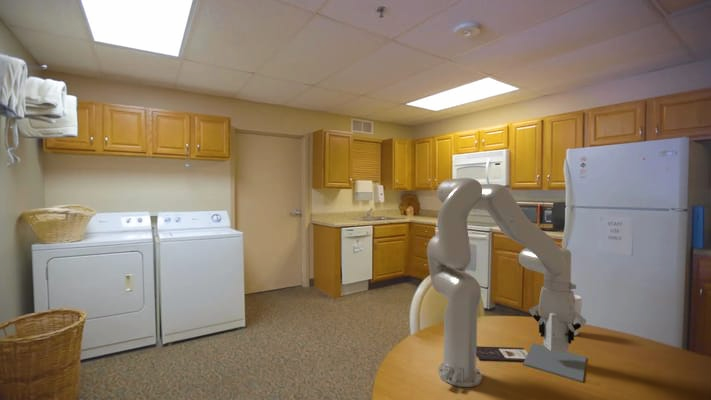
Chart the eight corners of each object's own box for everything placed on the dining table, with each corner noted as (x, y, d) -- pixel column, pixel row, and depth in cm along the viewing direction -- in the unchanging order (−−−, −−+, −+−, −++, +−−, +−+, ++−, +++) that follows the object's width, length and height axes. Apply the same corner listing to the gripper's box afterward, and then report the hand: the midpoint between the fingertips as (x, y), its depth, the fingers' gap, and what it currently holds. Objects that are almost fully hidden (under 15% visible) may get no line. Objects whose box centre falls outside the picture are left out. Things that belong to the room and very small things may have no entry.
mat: (582, 382, 96) (582, 381, 96) (523, 364, 106) (523, 363, 106) (586, 358, 111) (586, 356, 111) (533, 344, 121) (533, 343, 120)
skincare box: (551, 351, 106) (551, 314, 106) (542, 345, 110) (543, 309, 110) (569, 351, 106) (570, 314, 106) (560, 344, 111) (561, 309, 110)
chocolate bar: (471, 346, 118) (523, 347, 117) (471, 348, 118) (522, 350, 117) (479, 359, 109) (535, 361, 108) (479, 361, 109) (535, 363, 108)
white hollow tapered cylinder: (584, 337, 127) (585, 298, 126) (567, 337, 127) (568, 298, 126) (573, 329, 134) (574, 293, 133) (556, 329, 134) (557, 293, 133)
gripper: (590, 287, 105) (588, 342, 106) (529, 278, 116) (528, 328, 117) (588, 293, 99) (587, 351, 100) (525, 283, 110) (524, 335, 111)
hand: (556, 338), depth 108 cm, fingers closed on skincare box, 7 cm apart
